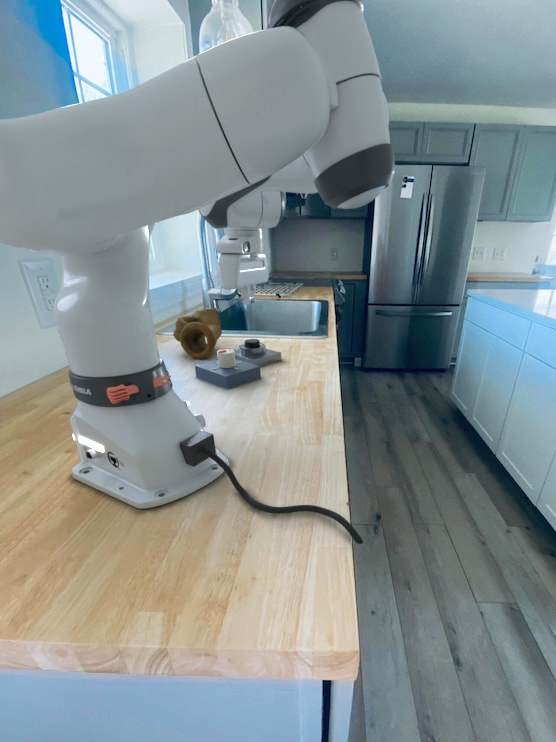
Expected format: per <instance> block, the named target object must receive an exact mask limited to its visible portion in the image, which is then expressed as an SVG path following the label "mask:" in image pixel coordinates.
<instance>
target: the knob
mask: <svg viewBox="0 0 556 742" xmlns="http://www.w3.org/2000/svg"><path fill="white" fill-rule="evenodd" d="M216 355H217V360H218V364H219V367H221V368H232V367H235V366H236V361H235V351H234V349H231V348H224V349H223V348H222V349H218V350H217V351H216Z"/></svg>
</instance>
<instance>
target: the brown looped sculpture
mask: <svg viewBox="0 0 556 742" xmlns="http://www.w3.org/2000/svg"><path fill="white" fill-rule="evenodd" d="M222 334H223V331H222V328H221V318H220V314H219V311H218V309H217V308H216V307H213V308H211V307H210V308H209V307H207V308H206V309H203V310H196V311H195V312H194V313H193V314H192V315H185V316H180V317H178V318H177V319H176V322H175V329H174V330H173V335H172V336H173V337H174V339H175V340H176V341H177V342H179V343H180V346H181V348H182V349H183V351H184V353H186V354H187V355H188V356H190V357H191V358H193V359H196V360H205V359H207V358H210V356H212V355H213V353H214V351H215V348H216V345H217V342H218V340H219V339H220V338H221V336H222Z"/></svg>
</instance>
